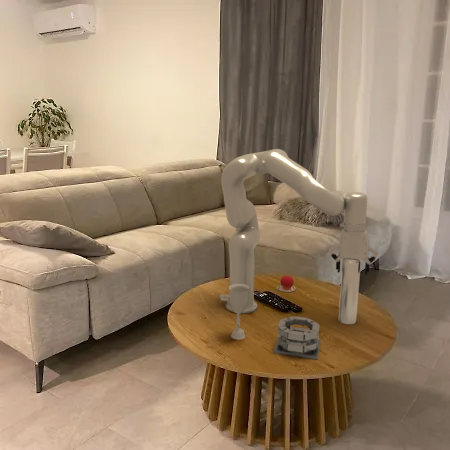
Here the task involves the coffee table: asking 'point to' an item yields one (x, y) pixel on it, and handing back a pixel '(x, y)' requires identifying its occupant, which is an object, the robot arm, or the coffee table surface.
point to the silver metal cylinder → (349, 290)
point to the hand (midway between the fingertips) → (352, 272)
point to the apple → (286, 284)
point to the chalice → (238, 306)
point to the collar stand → (298, 338)
